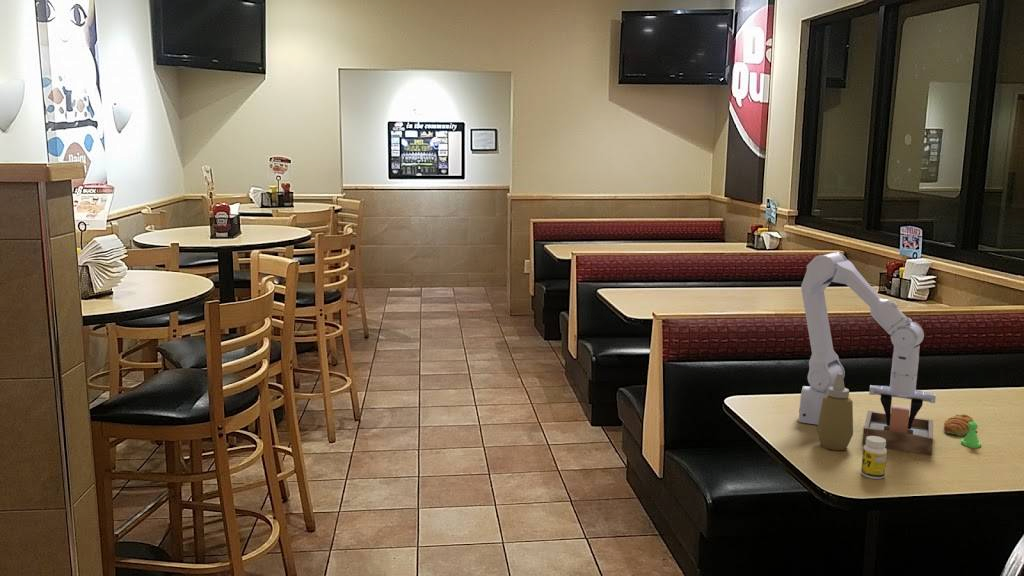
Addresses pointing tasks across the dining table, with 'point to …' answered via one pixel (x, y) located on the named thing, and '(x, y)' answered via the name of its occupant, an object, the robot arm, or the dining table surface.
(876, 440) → the supplement bottle
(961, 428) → the pastry
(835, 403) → the squeeze bottle
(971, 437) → the game piece
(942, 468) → the dining table surface
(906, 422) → the peg
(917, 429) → the socket box
